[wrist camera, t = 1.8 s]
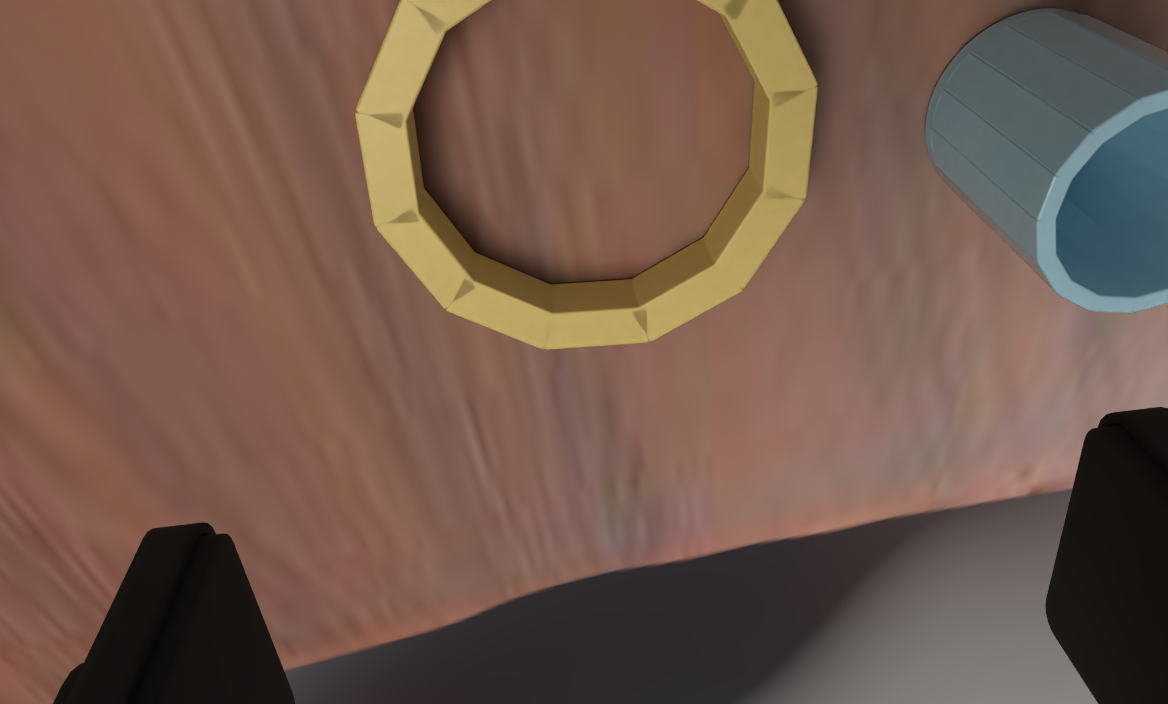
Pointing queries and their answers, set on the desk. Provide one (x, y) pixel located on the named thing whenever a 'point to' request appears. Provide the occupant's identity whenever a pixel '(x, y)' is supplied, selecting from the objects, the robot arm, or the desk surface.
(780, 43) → the ring
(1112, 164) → the cup
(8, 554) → the desk surface
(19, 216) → the desk surface
